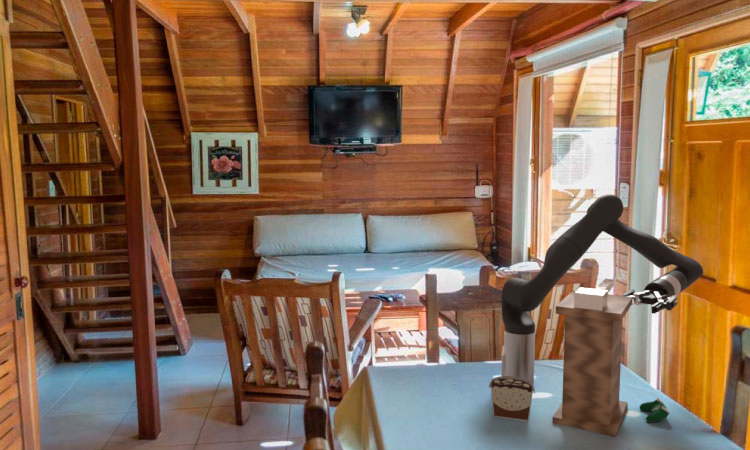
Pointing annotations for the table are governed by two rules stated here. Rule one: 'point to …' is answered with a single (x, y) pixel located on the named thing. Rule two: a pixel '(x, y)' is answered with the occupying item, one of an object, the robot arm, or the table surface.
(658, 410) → the gaming controller
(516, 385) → the food container
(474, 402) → the table surface
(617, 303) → the stand
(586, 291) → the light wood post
